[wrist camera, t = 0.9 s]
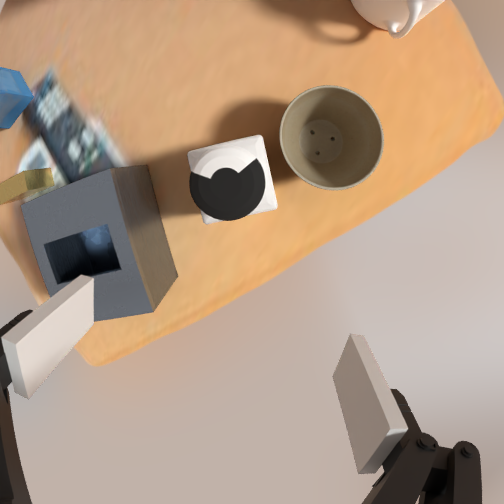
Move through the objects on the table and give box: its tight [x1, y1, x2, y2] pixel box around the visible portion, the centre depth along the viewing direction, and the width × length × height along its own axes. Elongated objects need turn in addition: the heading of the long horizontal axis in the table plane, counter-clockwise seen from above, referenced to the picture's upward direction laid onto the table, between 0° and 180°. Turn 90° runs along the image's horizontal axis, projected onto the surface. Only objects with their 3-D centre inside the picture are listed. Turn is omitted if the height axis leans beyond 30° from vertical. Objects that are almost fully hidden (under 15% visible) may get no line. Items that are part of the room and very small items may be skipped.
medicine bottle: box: [187, 135, 277, 224], centre depth 30 cm, size 7×7×12 cm
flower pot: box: [279, 85, 384, 190], centre depth 31 cm, size 10×10×7 cm
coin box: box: [21, 165, 178, 322], centre depth 33 cm, size 14×12×10 cm
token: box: [0, 168, 54, 205], centre depth 34 cm, size 2×6×6 cm, turn 103°
